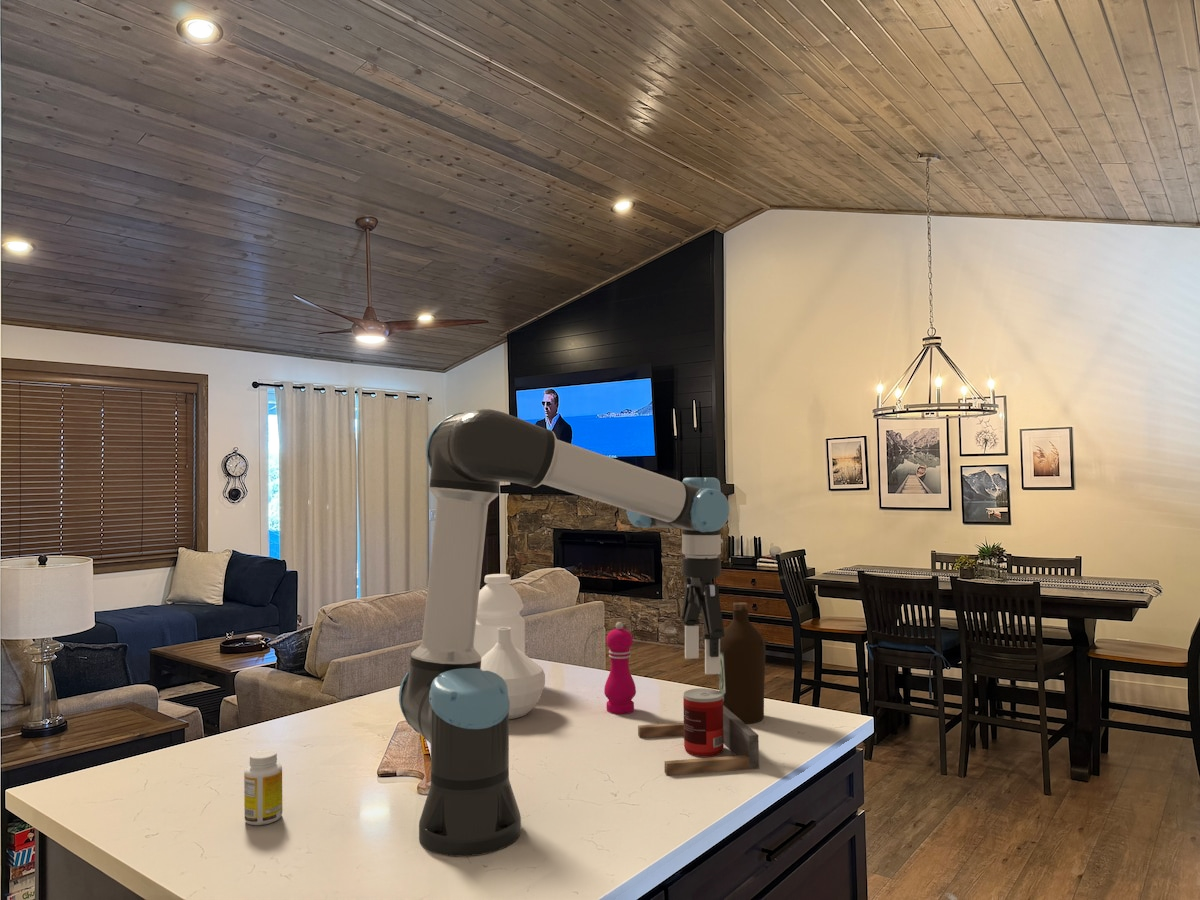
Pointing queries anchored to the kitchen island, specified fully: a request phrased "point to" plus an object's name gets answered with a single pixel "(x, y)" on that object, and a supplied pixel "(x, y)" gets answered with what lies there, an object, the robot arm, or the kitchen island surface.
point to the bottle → (498, 614)
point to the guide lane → (735, 739)
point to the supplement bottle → (263, 788)
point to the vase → (515, 673)
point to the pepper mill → (619, 672)
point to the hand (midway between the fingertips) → (701, 665)
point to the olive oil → (742, 667)
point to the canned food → (703, 722)
